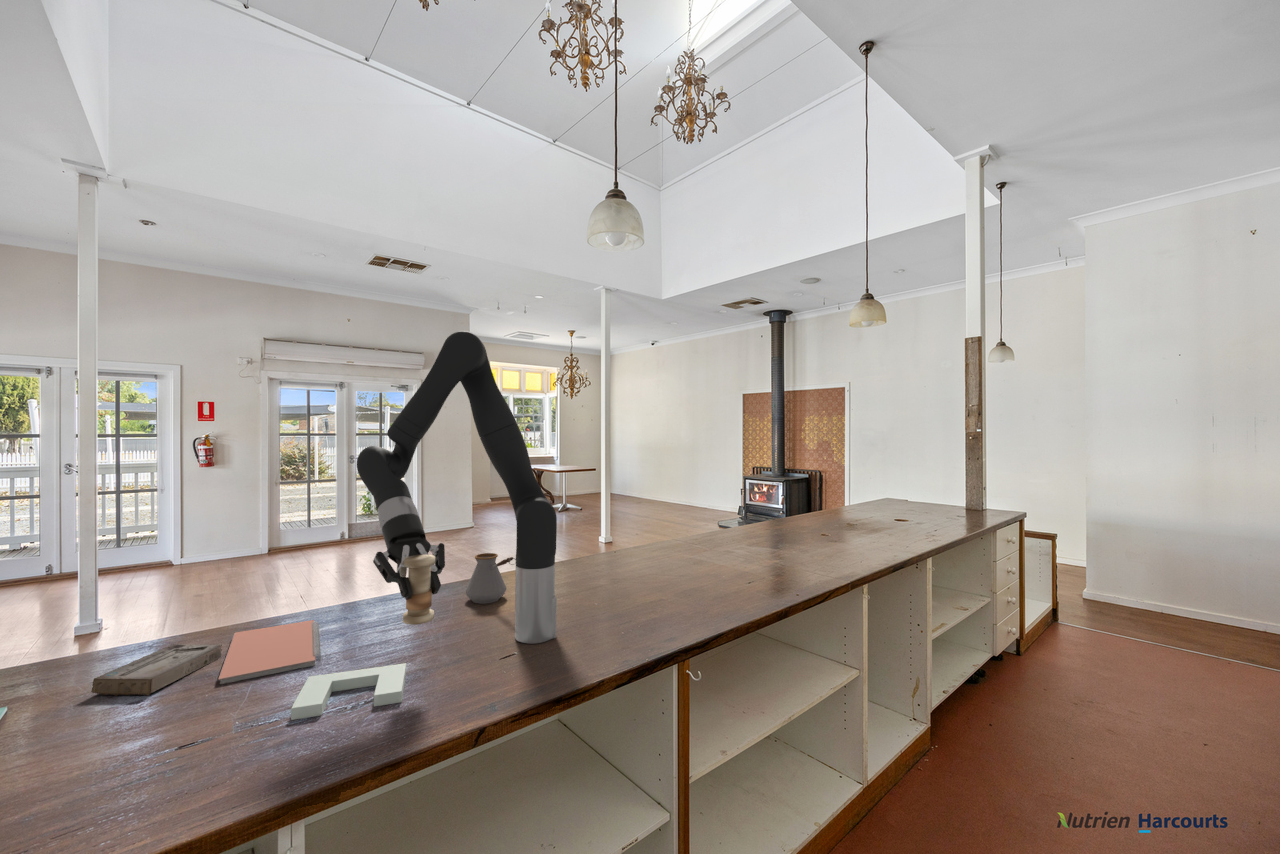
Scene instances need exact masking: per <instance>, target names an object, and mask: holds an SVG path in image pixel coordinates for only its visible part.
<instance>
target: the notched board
mask: <svg viewBox="0 0 1280 854" xmlns="http://www.w3.org/2000/svg"><path fill="white" fill-rule="evenodd" d="M406 676H407V663H406V662H405V663H399V664H390V665H384V666H376V667H368V668H362V669H354V670H348V671H347V670H346V671H342V672H341V671H340V672H334V673H326V674H318V675H312V676H311V675H310V676H308V677H307V679H306V680H305V683H304V684H303V687H302V688H301V690H300V692H299V694H298V695H297V697H296V699H295V700H294V702H293V704H292V707H291V709H290V712H291V713H290V717H291V718H290V720H291V721H294V720H300V719H306V718H312V717H320V716H323V713H324V711H325V708H326V707H327V704H328V701H329V699H330V697H331V694H332V692H340V691H348V690H353V689H360V688H366V687H375V690H374V693H373V707H375V708H376V707H381V706H385V705H391V704H392V705H393V704H398V703H399V704H400V703H402V701H403V696H404V690H405V683H406Z"/></svg>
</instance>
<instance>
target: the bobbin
mask: <svg viewBox="0 0 1280 854" xmlns="http://www.w3.org/2000/svg"><path fill="white" fill-rule="evenodd" d="M431 565H435V556H434V555H433V554H428V555H413V556H409V557H406V558H405V559H404V566H405V567H408V571H407V572H408V575H407V577H408V579H409V582H410V585H411V589H412V592H413V595H412V597H411V599H408V600H406V599H405V609H406V611H405V612H404V613H403V614H402V623H403V624H406V625H409V626H410V625H411V626H413V625H414V626H415V625H423V624H427V623H429V622H432V621H433V620H434V619H435V610H434V609H432V608H431V607H432V606H433V605H432V603H433V602H432V600H433V597H432V595H433V594H432V589H431V588H430V577H431Z"/></svg>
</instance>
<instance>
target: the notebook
mask: <svg viewBox="0 0 1280 854" xmlns="http://www.w3.org/2000/svg"><path fill="white" fill-rule="evenodd" d="M320 638H321V637H320V624H319V623H318V622H317V621H315V620H314V619H312V620H305V621H300V622H299V621H298V622H294V623H293V622H291V623H286V624H281V625H275V626H267V627H261V628H256V629H255V628H254V629H249V630H243V631H237V632H234V634H233V636H232V639H231V642H230V645H229V648H228V650H227V653H226V657H225V659H224V662H223V665H222V668H221V670H220V673H219V676H218V679H217V680H218V681H219V685H224V684H230V683H234V682H239V681H240V682H241V681H242V680H243V681H244V680H249V679H255V678H258V677H264V676H269V675H274V674H278V673H282V672H283V673H284V672H288V671H289V672H290V671H293V670H298V669H304V668H307V667H308V668H309V667H312V666H316V656H318V657H319V661H321V659H322V655H321V653H322V652H321V651H322V650H321V639H320Z"/></svg>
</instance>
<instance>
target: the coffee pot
mask: <svg viewBox="0 0 1280 854" xmlns="http://www.w3.org/2000/svg"><path fill="white" fill-rule="evenodd" d="M498 557H499V555H498V554H497V553H494V552H483V553H478V554H476V555H475V556H474V559H475V560H476V566H475V567H474V571H473V573H472V575H471V577H470V579H469V581H468V584H467V586H466V589H465V594H466V596H467V598H469V600H471V601H472V602H473V603H475V604H481V605H483V604H484V605H485V604H492V603H495V602H498V601H499V600H500V598H501V597H503V596H504V595H505V594H506V591H507V586H506V583H505V581H504V579H503V577H502V573H501V572H500V569H499V567H500V566H504V565H506V564H507V563H508V564H509V565H510V566H511V565H512V566H514V565H515V563H512V564H511V561H513V560H515V561H516V557H515V558H514V557H512V556H511V557H510V556H509V557H507V558H505V559H503V560H501V561H499V562H498V563H497V562H496V561H497V558H498Z"/></svg>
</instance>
